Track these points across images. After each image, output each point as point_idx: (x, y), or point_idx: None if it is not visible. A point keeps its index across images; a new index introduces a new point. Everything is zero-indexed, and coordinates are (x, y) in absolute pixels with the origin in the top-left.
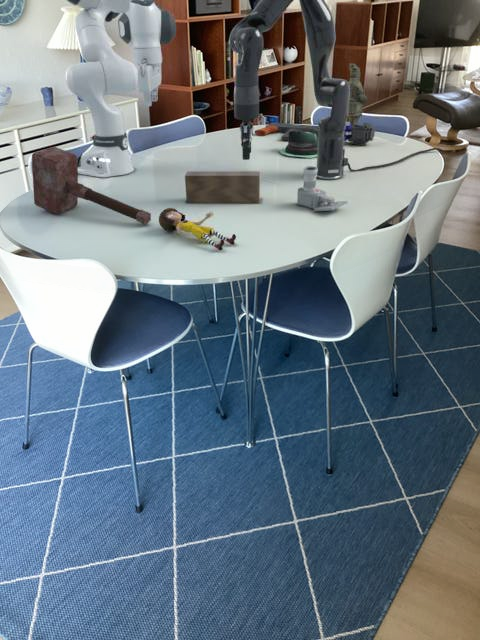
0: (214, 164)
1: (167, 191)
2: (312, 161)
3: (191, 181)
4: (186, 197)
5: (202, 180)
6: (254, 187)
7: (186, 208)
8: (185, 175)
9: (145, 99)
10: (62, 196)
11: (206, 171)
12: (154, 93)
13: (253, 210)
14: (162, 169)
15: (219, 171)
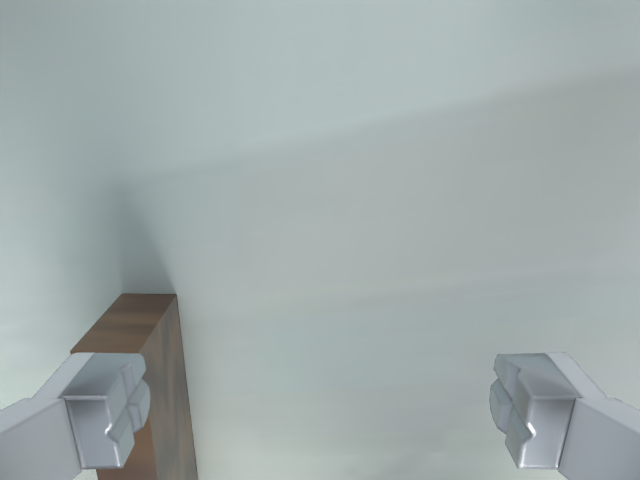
0: (635, 335)
1: (254, 202)
2: None
3: None
4: (112, 304)
5: None
6: None
7: (66, 300)
8: (73, 353)
9: (3, 417)
10: None
11: (147, 422)
12: (600, 462)
13: (88, 476)
14: (606, 117)
15: (154, 464)
